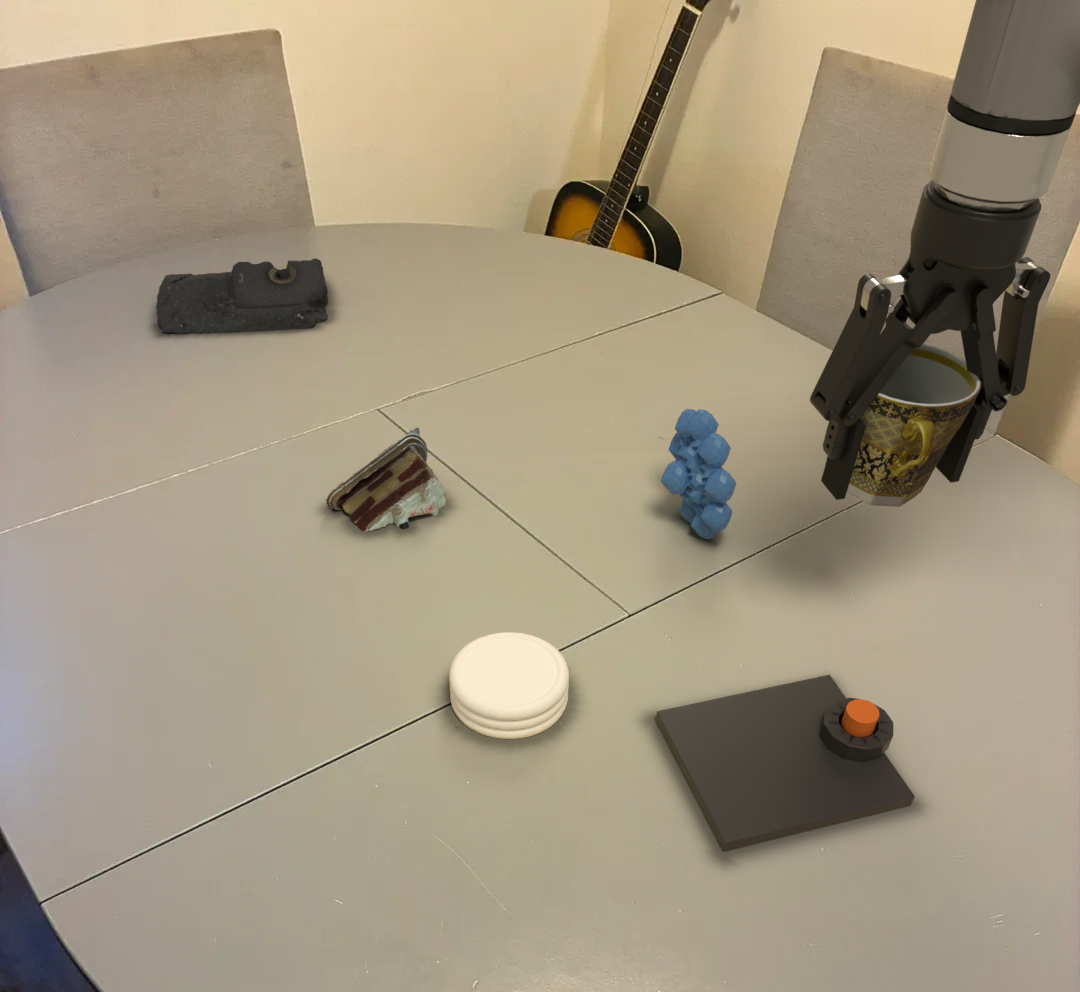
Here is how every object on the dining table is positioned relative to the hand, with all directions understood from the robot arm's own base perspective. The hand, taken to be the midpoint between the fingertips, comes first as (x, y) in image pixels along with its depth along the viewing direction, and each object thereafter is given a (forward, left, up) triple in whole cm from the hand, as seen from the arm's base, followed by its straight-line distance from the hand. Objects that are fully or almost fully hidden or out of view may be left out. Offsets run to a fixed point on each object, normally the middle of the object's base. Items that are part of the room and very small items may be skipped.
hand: (890, 481), depth 83 cm
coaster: (+32, 0, -16) cm, 36 cm away
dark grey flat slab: (+13, +13, -16) cm, 25 cm away
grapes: (+8, -19, -16) cm, 26 cm away
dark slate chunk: (+46, -79, -16) cm, 93 cm away
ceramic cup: (0, 0, -1) cm, 1 cm away
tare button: (+7, +13, -13) cm, 20 cm away
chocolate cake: (+36, -29, -16) cm, 49 cm away
